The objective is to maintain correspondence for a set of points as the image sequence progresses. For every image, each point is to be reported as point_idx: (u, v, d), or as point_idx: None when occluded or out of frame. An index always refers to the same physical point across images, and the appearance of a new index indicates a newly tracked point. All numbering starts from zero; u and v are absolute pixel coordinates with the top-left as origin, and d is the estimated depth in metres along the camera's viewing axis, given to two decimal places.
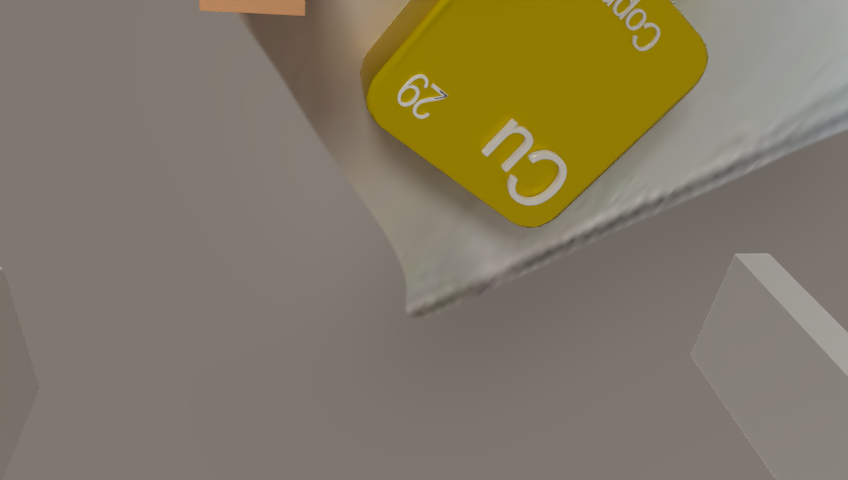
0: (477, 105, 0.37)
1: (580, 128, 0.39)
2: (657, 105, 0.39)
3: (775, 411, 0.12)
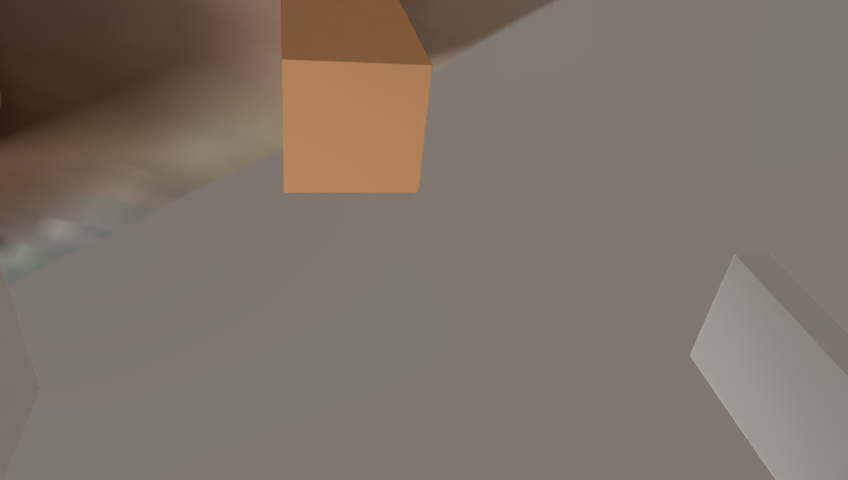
0: None
1: None
2: None
3: (774, 411, 0.12)
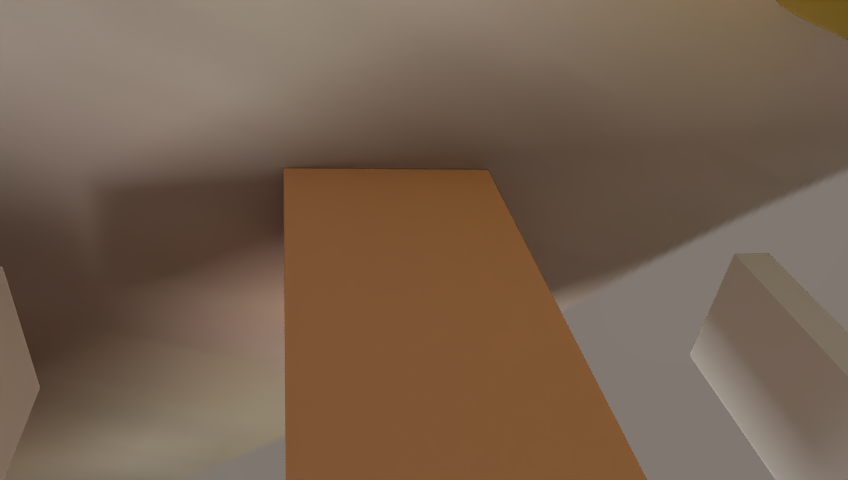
0: None
1: None
2: None
3: (775, 411, 0.12)
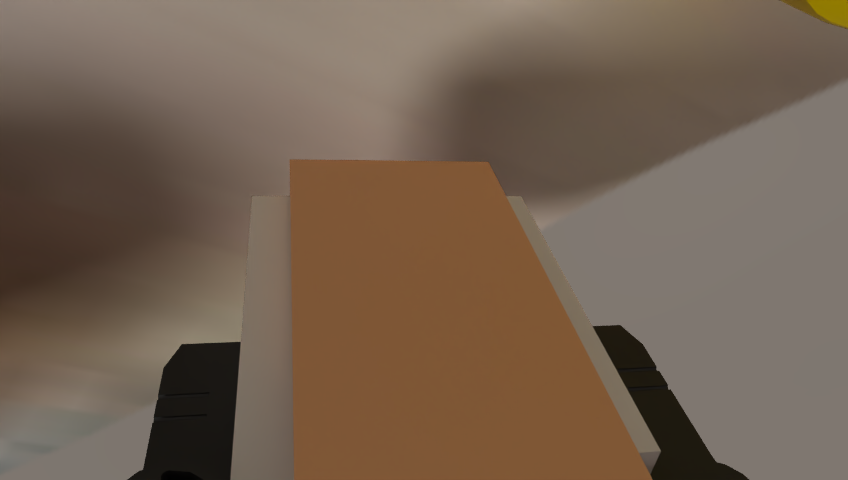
0: None
1: None
2: None
3: None
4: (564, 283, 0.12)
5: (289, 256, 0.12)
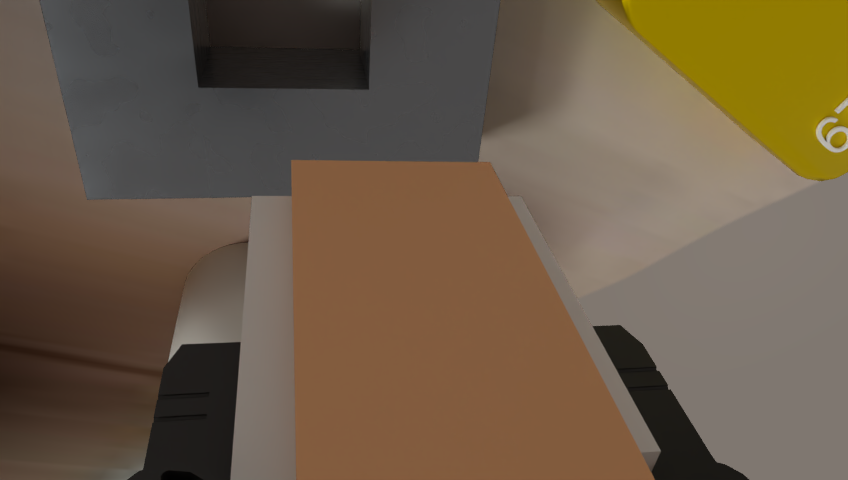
0: None
1: None
2: None
3: None
4: (564, 283, 0.12)
5: (289, 256, 0.12)
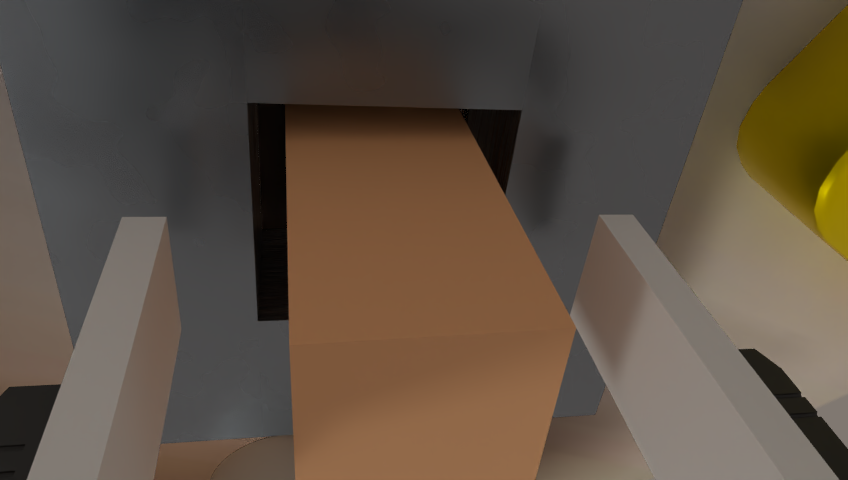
0: None
1: None
2: None
3: (626, 360, 0.13)
4: (698, 306, 0.12)
5: (144, 286, 0.10)
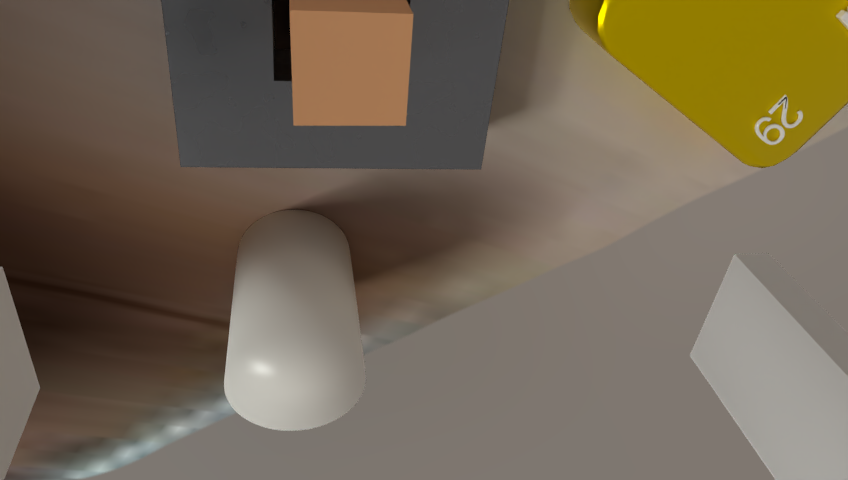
0: (807, 59, 0.33)
1: None
2: None
3: (775, 411, 0.12)
4: None
5: None
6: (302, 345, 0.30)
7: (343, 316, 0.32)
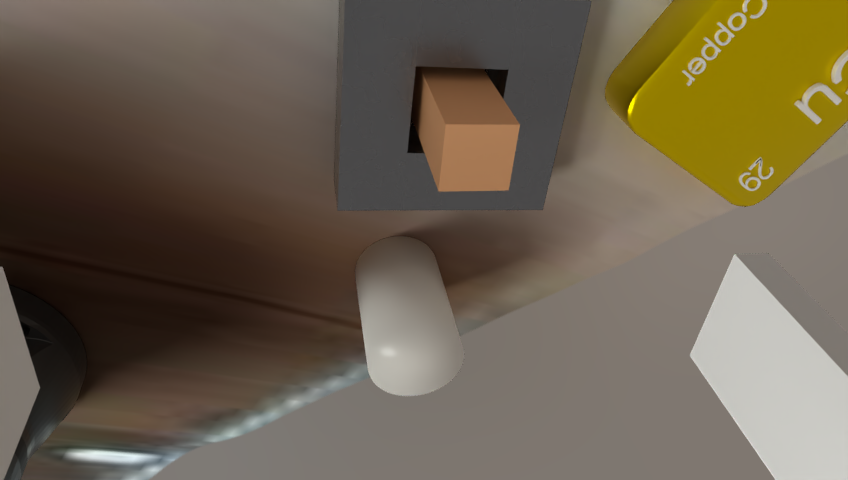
0: (775, 132, 0.46)
1: (822, 39, 0.42)
2: None
3: (775, 411, 0.12)
4: None
5: None
6: (424, 334, 0.43)
7: (447, 315, 0.45)
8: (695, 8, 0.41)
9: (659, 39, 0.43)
